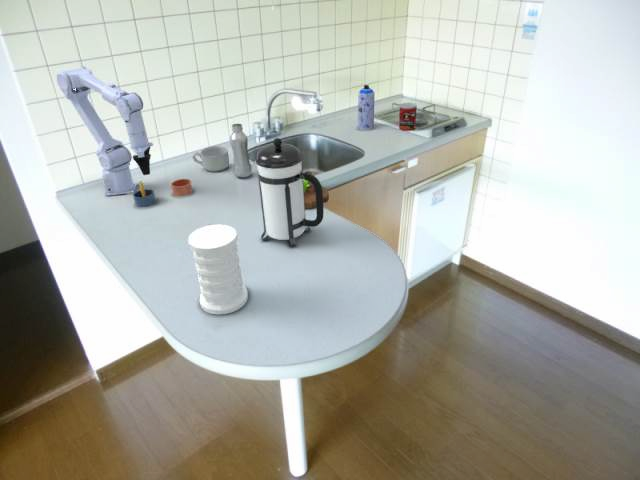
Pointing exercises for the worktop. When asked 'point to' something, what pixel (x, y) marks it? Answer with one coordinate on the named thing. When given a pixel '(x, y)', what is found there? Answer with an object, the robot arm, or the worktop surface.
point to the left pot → (144, 198)
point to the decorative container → (218, 268)
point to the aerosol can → (366, 109)
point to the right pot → (181, 187)
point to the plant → (312, 193)
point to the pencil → (142, 189)
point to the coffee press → (285, 192)
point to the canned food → (407, 116)
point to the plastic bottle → (240, 151)
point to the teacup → (213, 158)
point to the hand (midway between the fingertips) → (146, 170)
